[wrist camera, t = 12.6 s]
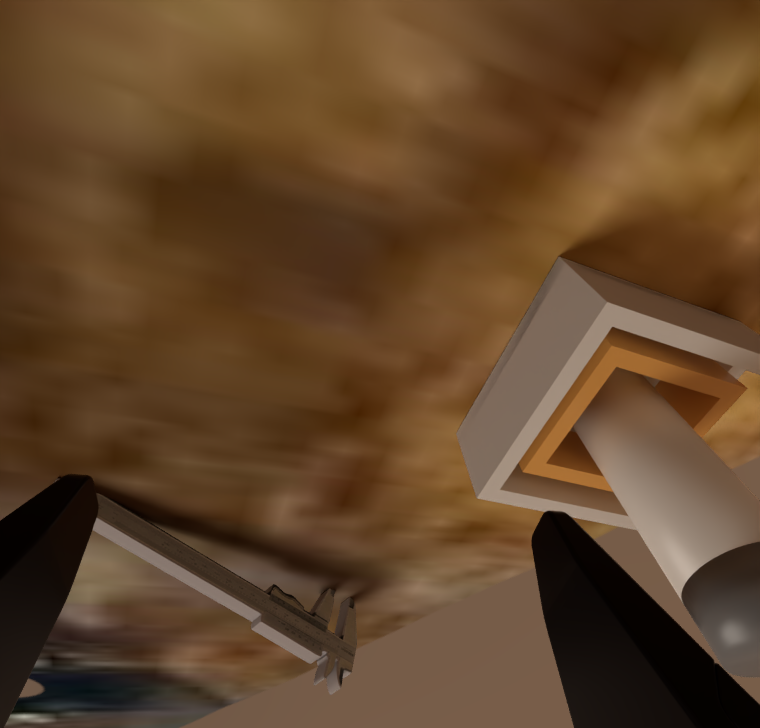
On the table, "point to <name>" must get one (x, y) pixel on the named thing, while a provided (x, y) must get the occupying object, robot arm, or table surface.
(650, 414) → the plug
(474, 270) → the table surface
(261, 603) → the caliper
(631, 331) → the socket box
